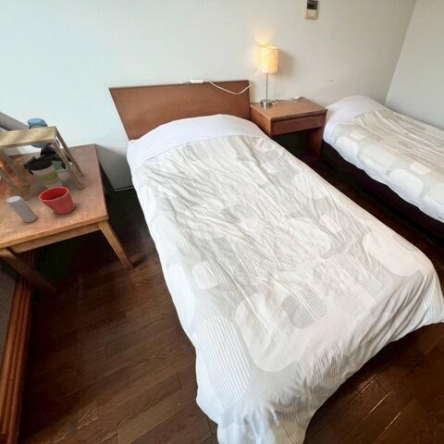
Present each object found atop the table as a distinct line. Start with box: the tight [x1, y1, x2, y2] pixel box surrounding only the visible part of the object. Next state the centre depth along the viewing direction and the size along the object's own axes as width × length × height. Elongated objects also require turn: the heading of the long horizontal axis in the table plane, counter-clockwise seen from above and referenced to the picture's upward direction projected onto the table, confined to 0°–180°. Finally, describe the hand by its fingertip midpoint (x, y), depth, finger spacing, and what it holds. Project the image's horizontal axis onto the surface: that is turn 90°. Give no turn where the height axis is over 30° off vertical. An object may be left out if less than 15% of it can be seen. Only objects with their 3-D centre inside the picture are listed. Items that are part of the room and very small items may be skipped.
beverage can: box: [6, 195, 38, 223], centre depth 111 cm, size 5×5×12 cm
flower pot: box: [38, 186, 75, 215], centre depth 119 cm, size 11×11×10 cm
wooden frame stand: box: [0, 125, 85, 202], centre depth 124 cm, size 26×16×29 cm, turn 122°
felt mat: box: [51, 161, 73, 173], centre depth 147 cm, size 14×14×1 cm
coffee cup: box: [27, 158, 64, 190], centre depth 129 cm, size 10×10×15 cm
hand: (47, 170), depth 131 cm, fingers open, 13 cm apart
